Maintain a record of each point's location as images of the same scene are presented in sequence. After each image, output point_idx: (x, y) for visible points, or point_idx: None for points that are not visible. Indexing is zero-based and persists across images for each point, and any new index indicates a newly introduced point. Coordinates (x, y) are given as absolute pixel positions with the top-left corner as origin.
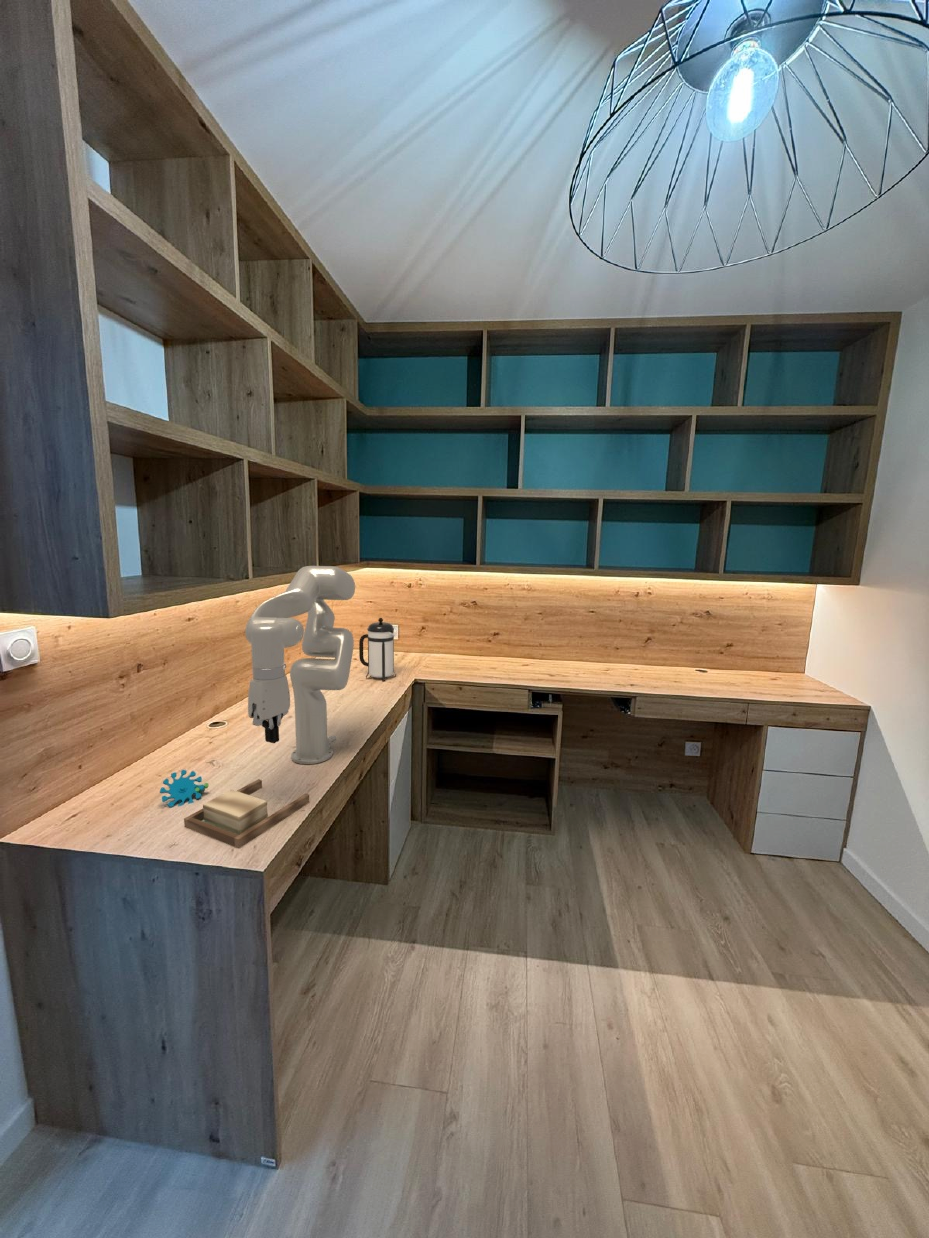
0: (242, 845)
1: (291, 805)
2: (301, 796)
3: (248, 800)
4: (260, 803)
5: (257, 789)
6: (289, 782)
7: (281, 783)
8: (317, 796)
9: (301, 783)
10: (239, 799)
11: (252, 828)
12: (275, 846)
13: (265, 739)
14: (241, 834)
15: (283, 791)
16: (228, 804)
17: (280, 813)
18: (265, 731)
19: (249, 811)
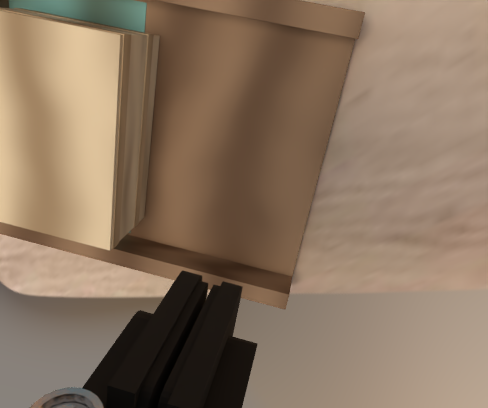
0: None
1: None
2: (264, 289)
3: (81, 181)
4: (86, 237)
5: (325, 33)
6: (456, 120)
7: (439, 87)
8: (355, 284)
9: (453, 178)
10: (71, 139)
11: (41, 236)
12: (74, 287)
13: (179, 275)
14: (4, 224)
15: (365, 141)
16: (23, 120)
17: (146, 270)
18: (95, 375)
19: (31, 229)
